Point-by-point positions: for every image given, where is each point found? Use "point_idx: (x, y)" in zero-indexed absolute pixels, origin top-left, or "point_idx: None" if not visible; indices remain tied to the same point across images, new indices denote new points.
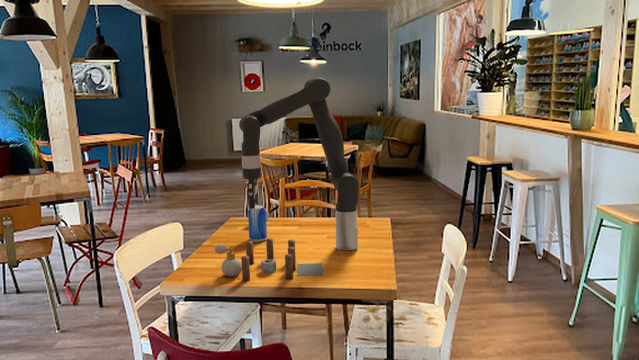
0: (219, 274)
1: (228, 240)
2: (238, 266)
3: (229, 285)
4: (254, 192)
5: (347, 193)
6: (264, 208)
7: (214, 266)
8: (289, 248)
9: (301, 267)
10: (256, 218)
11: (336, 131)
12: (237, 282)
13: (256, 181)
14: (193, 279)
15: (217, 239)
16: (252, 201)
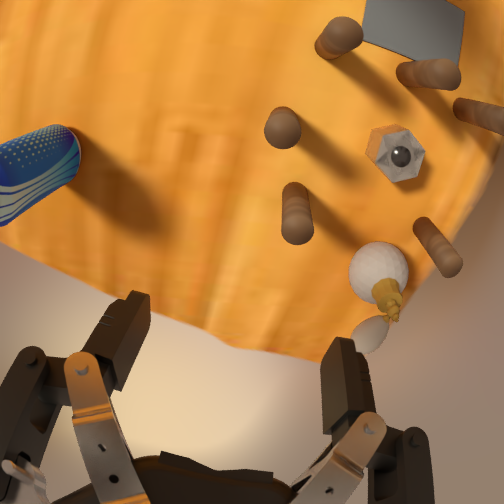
0: (349, 285)
1: (70, 239)
2: (405, 260)
3: (429, 268)
4: (354, 480)
5: None
6: None
7: (282, 292)
8: (449, 83)
9: (397, 38)
10: (26, 185)
11: None
12: (423, 249)
13: (12, 476)
14: (351, 333)
15: (65, 265)
16: (369, 405)
